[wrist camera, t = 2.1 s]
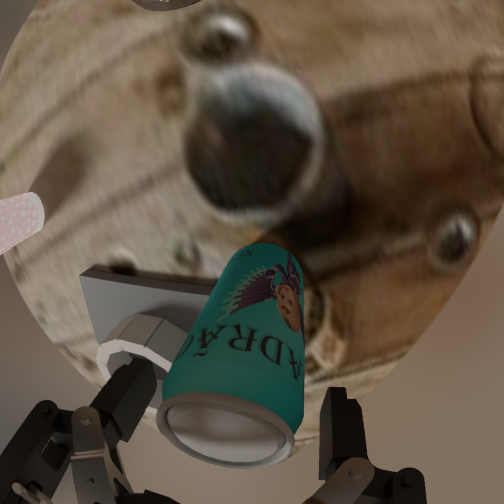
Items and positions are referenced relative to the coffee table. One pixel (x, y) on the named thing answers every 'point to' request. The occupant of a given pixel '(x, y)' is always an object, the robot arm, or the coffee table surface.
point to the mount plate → (141, 320)
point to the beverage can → (241, 366)
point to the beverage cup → (19, 219)
